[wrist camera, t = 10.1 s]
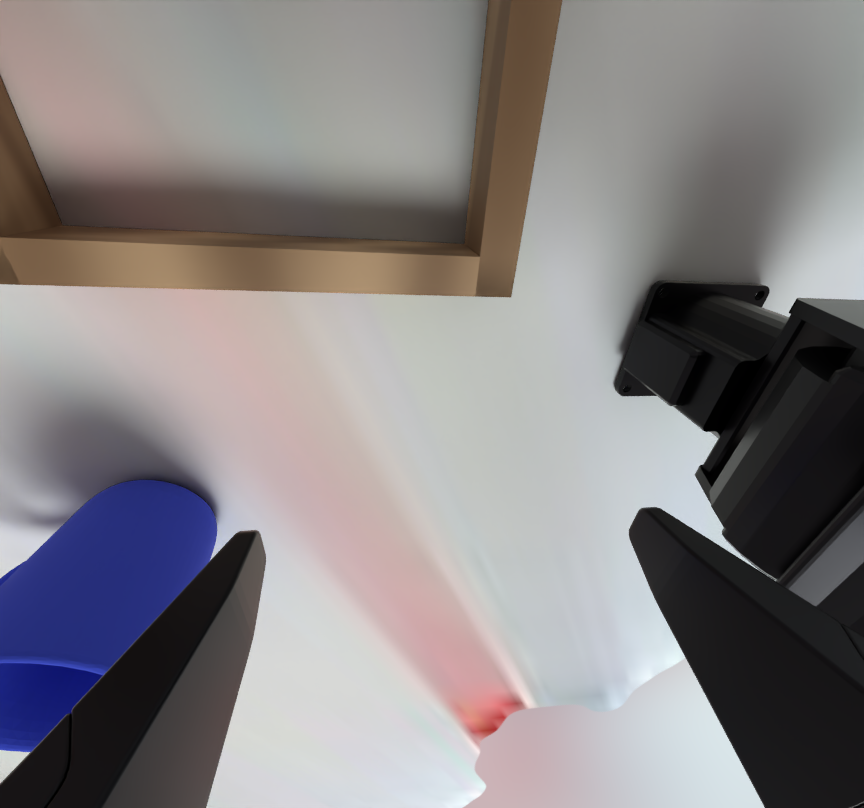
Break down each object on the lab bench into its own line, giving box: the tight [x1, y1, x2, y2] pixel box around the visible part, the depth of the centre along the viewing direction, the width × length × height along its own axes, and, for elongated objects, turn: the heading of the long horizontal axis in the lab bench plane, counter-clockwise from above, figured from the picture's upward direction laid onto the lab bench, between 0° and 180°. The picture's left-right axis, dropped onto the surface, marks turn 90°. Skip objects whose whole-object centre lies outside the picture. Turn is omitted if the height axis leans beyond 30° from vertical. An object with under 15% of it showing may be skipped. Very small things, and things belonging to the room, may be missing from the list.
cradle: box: [0, 0, 562, 297], centre depth 12 cm, size 19×14×3 cm
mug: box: [0, 480, 217, 752], centre depth 19 cm, size 8×12×10 cm
